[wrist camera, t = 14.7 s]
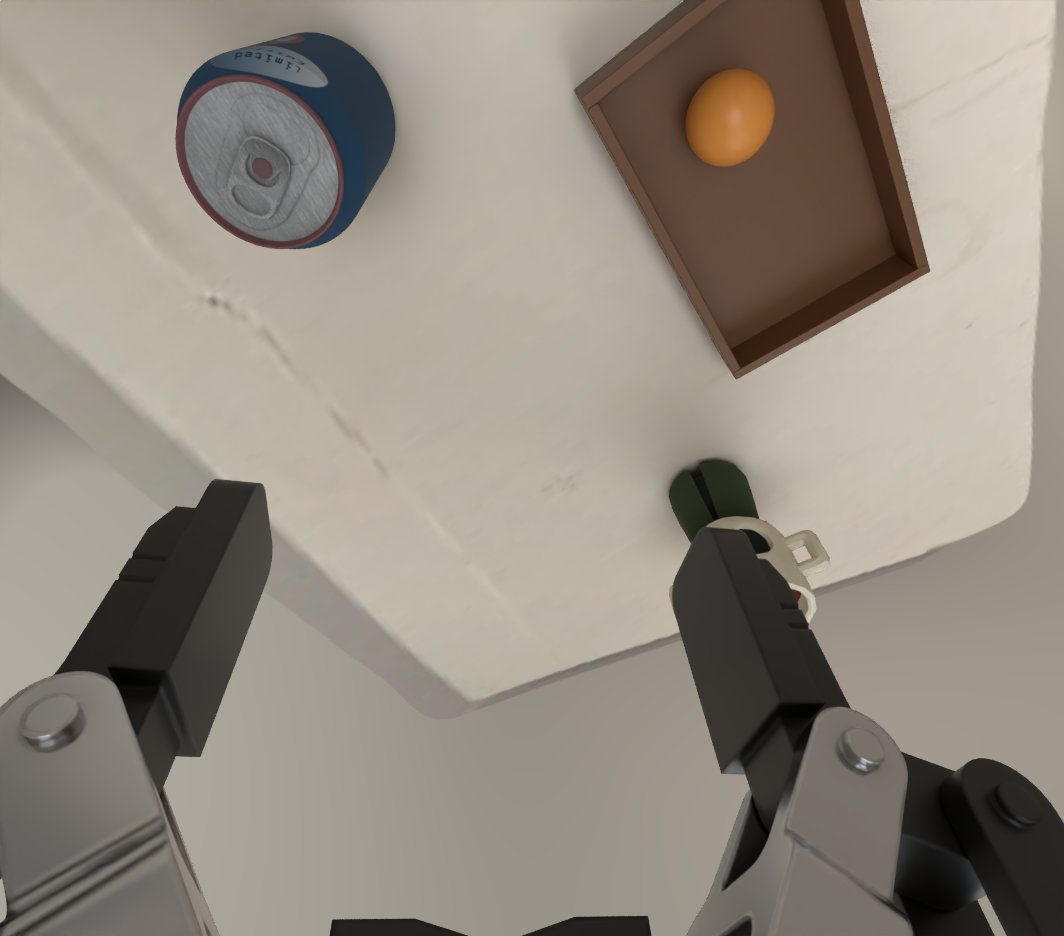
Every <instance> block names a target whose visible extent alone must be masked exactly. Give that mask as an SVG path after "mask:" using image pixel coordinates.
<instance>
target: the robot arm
mask: <svg viewBox="0 0 1064 936" xmlns="http://www.w3.org/2000/svg"><path fill="white" fill-rule="evenodd" d="M271 561H272V538H271V530H270V523H269V515H268V508H267V500H266V493H265V489H264V486H263V485H262V484H261V483H252V482H241V481H231V480H220V479H215V480H213V481H212V482H211V483H210V484H209V486H208V487H207V489H206V491H205V493H204V494H203V496H202V498H201V500H200V502H199V503H198V505H197V507H196V508H189V507H177V506H176V507H175V508H174V509H172V510H171V511H170V512H168V513H167V514H166V515H164V516H163V517H162V518H161V519H159V520H158V521H157V522H155V523H154V524H153V525H151V526H150V527H149V528H148V529H147V531H146V533H145V534H144V536H143V537H142V539H141V541H140V542H139V544H138V546H137V547H136V549H135V550H134V552H133V556H132V558H131V559H130V558H129V560H128V561H127V563H126V564H125V566H124V568H123V569H122V571H121V572H120V574H119V579H118V580H115V582H114V583H113V585H112V587H111V588H110V590H109V591H108V593H107V594H106V596H105V598H104V599H103V601H102V602H101V604H100V606H99V607H98V609H97V610H96V612H95V613H94V615H93V617H92V618H91V620H90V621H89V623H88V625H87V626H86V628H85V629H84V631H83V632H82V634H81V636H80V637H79V639H78V640H77V642H76V644H75V645H74V647H73V648H72V650H71V651H70V653H69V655H68V656H67V658H66V659H65V661H64V662H63V664H62V665H61V667H60V668H59V669H58V671H57V672H56V673H55V674H54V675H53V676H50V677H48V678H45V679H42V680H40V681H38V682H35V683H33V684H31V685H29V686H28V687H26V688H25V689H23V690H21V691H19V692H18V693H17V694H15V695H14V696H13V697H11V698H10V699H9V700H8V701H7V702H6V703H5V704H4V705H2V706H1V707H0V879H1V878H2V879H3V884H4V889H5V895H6V902H7V915H6V918H5V920H4V921H2V922H1V923H0V936H220V935H219V932H218V930H217V927H216V925H215V922H214V920H213V918H212V915H211V913H210V910H209V908H208V905H207V903H206V900H205V898H204V895H203V892H202V890H201V887H200V884H199V881H198V879H197V876H196V873H195V871H194V868H193V865H192V862H191V860H190V857H189V854H188V852H187V849H186V846H185V843H184V841H183V838H182V835H181V833H180V830H179V827H178V824H177V822H176V819H175V816H174V814H173V811H172V808H171V806H170V803H169V800H168V798H167V795H166V792H165V789H164V787H163V786H164V784H165V781H166V779H167V777H168V774H169V772H170V769H171V767H172V764H173V762H174V759H175V757H176V756H185V757H186V756H187V757H200V756H201V754H202V751H203V748H204V746H205V743H206V740H207V738H208V735H209V732H210V730H211V727H212V724H213V722H214V719H215V717H216V714H217V711H218V709H219V706H220V703H221V700H222V698H223V695H224V693H225V690H226V688H227V684H228V682H229V680H230V677H231V674H232V671H233V669H234V666H235V664H236V661H237V658H238V656H239V653H240V650H241V648H242V645H243V642H244V640H245V637H246V634H247V632H248V629H249V627H250V624H251V621H252V619H253V616H254V613H255V611H256V608H257V605H258V602H259V600H260V597H261V595H262V592H263V589H264V587H265V584H266V581H267V579H268V575H269V572H270V567H271ZM672 603H673V609H674V613H675V616H676V620H677V623H678V626H679V630H680V633H681V637H682V640H683V643H684V646H685V650H686V654H687V657H688V661H689V664H690V667H691V671H692V674H693V678H694V681H695V685H696V688H697V691H698V695H699V698H700V702H701V705H702V709H703V712H704V715H705V719H706V722H707V726H708V729H709V733H710V736H711V739H712V743H713V746H714V749H715V753H716V757H717V760H718V763H719V767H720V770H721V773H722V774H746V777H747V780H748V784H749V786H750V790H749V791H748V792H747V793H746V795H745V797H744V799H743V802H742V804H741V807H740V810H739V813H738V816H737V818H736V821H735V824H734V827H733V830H732V832H731V835H730V838H729V841H728V844H727V847H726V849H725V852H724V854H723V857H722V860H721V863H720V866H719V868H718V871H717V874H716V877H715V879H714V882H713V885H712V888H711V890H710V893H709V895H708V897H707V899H706V901H705V903H704V905H703V907H702V908H701V910H700V912H699V913H698V915H697V916H696V918H695V920H694V921H693V923H692V925H691V927H690V929H689V931H688V933H687V935H686V936H994V934H993V932H992V929H991V927H990V926H989V923H988V921H987V919H986V917H985V915H984V913H983V911H982V909H981V907H980V905H979V903H978V901H977V900H978V899H980V898H982V897H984V896H986V895H987V897H988V899H989V901H990V903H991V905H992V907H993V909H994V911H995V913H996V915H997V917H998V919H999V921H1000V923H1001V925H1002V927H1003V929H1004V931H1005V933H1006V935H1007V936H1064V823H1063V822H1062V820H1061V818H1060V817H1059V815H1058V814H1057V812H1056V810H1055V809H1054V808H1053V806H1052V805H1051V803H1050V802H1049V801H1048V799H1047V798H1046V797H1045V796H1044V795H1043V794H1042V792H1041V791H1040V790H1039V789H1038V788H1037V787H1036V786H1035V785H1033V784H1032V783H1031V782H1030V781H1029V780H1028V779H1026V778H1025V777H1024V776H1023V775H1021V774H1020V773H1018V772H1017V771H1015V770H1013V769H1012V768H1010V767H1009V766H1006V765H1004V764H1002V763H1000V762H997V761H994V760H990V759H983V758H978V759H974V760H971V761H969V762H968V763H966V764H965V765H964V766H963V767H961V768H960V769H958V770H957V771H956V772H955V771H952V770H950V769H947V768H944V767H941V766H939V765H936V764H933V763H930V762H928V761H925V760H922V759H919V758H916V757H914V756H911V755H908V754H905V753H903V752H901V751H900V749H899V748H898V746H897V745H896V743H895V741H894V740H893V739H892V738H891V737H890V735H889V734H888V733H887V732H886V731H885V730H884V729H883V728H882V727H881V726H880V725H878V724H877V723H876V722H875V721H873V720H872V719H870V718H869V717H867V716H866V715H864V714H862V713H860V712H857V711H855V710H852V709H851V708H850V706H849V704H848V702H847V701H846V699H845V697H844V695H843V692H842V691H841V689H840V687H839V685H838V682H837V680H836V679H835V676H834V675H833V672H832V670H831V668H830V666H829V664H828V662H827V660H826V659H825V656H824V654H823V652H822V650H821V648H820V646H819V644H818V642H817V640H816V638H815V636H814V634H813V632H812V630H809V629H808V625H809V624H808V622H807V620H806V618H805V616H804V614H803V612H802V610H799V604H798V602H797V600H796V598H795V596H794V594H793V592H792V590H791V588H790V586H789V584H788V582H787V580H786V579H785V578H784V577H783V576H782V575H781V574H780V573H779V572H778V571H777V570H776V568H775V567H774V566H773V565H772V564H771V563H770V562H769V561H768V560H767V559H759V558H758V557H757V555H756V553H755V551H754V548H753V546H752V544H751V542H750V540H749V538H748V536H747V534H746V533H745V532H744V531H742V530H736V529H725V528H715V527H702V528H701V529H700V530H699V531H698V532H697V534H696V536H695V538H694V540H693V542H692V544H691V546H690V548H689V550H688V552H687V554H686V556H685V559H684V561H683V563H682V565H681V567H680V569H679V571H678V573H677V575H676V577H675V580H674V583H673V589H672ZM330 936H467V935H464V934H461V933H458V932H455V931H452V930H449V929H446V928H442V927H439V926H436V925H433V924H430V923H426V922H424V921H420V920H417V919H345V920H343V919H342V920H341V919H340V920H332V925H331V931H330ZM523 936H651V931H650V925H649V919H648V916H615V917H614V916H609V917H608V916H606V917H573V918H571V919H568V920H565V921H562V922H559V923H556V924H554V925H551V926H548V927H545V928H542V929H540V930H537V931H534V932H531V933H528V934H526V935H523Z"/></svg>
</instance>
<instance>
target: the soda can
mask: <svg viewBox="0 0 1064 936" xmlns="http://www.w3.org/2000/svg"><path fill="white" fill-rule="evenodd" d="M394 140H395V117H394V111H393V107H392V103H391V100H390V97H389V94H388V92H387V89H386V87H385V85H384V83H383V82H382V80H381V78H380V76H379V75H378V73H377V72H376V71H375V69H374V68H373V67H372V65H371V64H370V63H369V62H368V61H367V60H366V59H365V58H364V57H363V56H362V55H361V54H360V53H359V52H358V51H356V50H355V49H354V48H352V47H351V46H349V45H348V44H346V43H344V42H343V41H340V40H338V39H336V38H334V37H331V36H328V35H324V34H319V33H298V34H293V35H289V36H286V37H282V38H278V39H274V40H271V41H267V42H263V43H259V44H255V45H252V46H248V47H244V48H240V49H237V50H233V51H229V52H226V53H223V54H220V55H218V56H215V57H214V58H212V59H210V60H208V61H207V62H206V63H204V64H203V65H202V66H201V67H199V68H198V69H197V70H196V71H195V73H194V74H193V75H192V76H191V78H190V79H189V81H188V82H187V84H186V86H185V88H184V91H183V93H182V96H181V99H180V103H179V107H178V115H177V128H176V152H177V157H178V162H179V166H180V169H181V172H182V175H183V177H184V179H185V182H186V184H187V186H188V188H189V189H190V191H191V193H192V194H193V196H194V198H195V199H196V200H197V202H198V203H199V205H200V206H201V207H202V208H203V209H204V211H205V212H206V213H207V214H208V215H209V216H210V217H211V218H212V219H213V220H214V221H215V222H217V223H218V224H219V225H220V226H221V227H223V228H224V229H225V230H227V231H228V232H230V233H231V234H233V235H235V236H236V237H238V238H240V239H242V240H245V241H247V242H249V243H252V244H255V245H258V246H262V247H267V248H275V249H305V248H311V247H315V246H319V245H322V244H324V243H327V242H329V241H331V240H332V239H334V238H336V237H337V236H339V235H340V234H341V233H342V232H343V231H345V230H346V228H347V227H348V226H349V225H350V224H351V223H352V221H353V220H354V218H355V217H356V215H357V214H358V212H359V210H360V209H361V207H362V205H363V203H364V202H365V200H366V198H367V197H368V195H369V193H370V192H371V190H372V188H373V187H374V185H375V183H376V181H377V180H378V178H379V176H380V175H381V173H382V171H383V170H384V168H385V166H386V164H387V163H388V161H389V158H390V156H391V153H392V150H393V146H394Z"/></svg>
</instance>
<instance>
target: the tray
mask: <svg viewBox="0 0 1064 936" xmlns="http://www.w3.org/2000/svg"><path fill="white" fill-rule="evenodd" d="M735 68H740V69H747V70H750V71H752V72H754V73H756V74H758V75H759V76H760V77H762V78H763V79H764V81H765V82H766V83H767V85H768V86H769V88H770V90H771V92H772V95H773V98H774V104H775V115H774V122H773V125H772V129H771V131H770V134H769V136H768V137H767V139H766V141H765V142H764V144H763V145H762V147H761V148H760V149H759V150H758V151H757V152H756V153H755V154H754V155H753V156H751V157H750V158H749V159H747V160H745V161H743V162H741V163H739V164H736V165H733V166H726V167H720V166H714V165H710V164H708V163H706V162H704V161H703V160H701V159H700V158H699V157H698V156H697V155H696V154H695V153H694V151H693V150H692V148H691V147H690V145H689V142H688V139H687V135H686V115H687V111H688V108H689V105H690V102H691V100H692V98H693V96H694V95H695V93H696V92H697V90H698V89H699V88H700V87H701V85H702V84H703V83H704V82H705V81H707V80H708V79H709V78H710V77H712V76H713V75H715V74H717V73H719V72H722V71H725V70H728V69H735ZM574 91H575V93H576V95H577V97H578V98H579V100H580V102H581V104H582V106H583V107H584V109H585V111H586V113H587V115H588V116H589V118H590V120H591V122H592V124H593V125H594V127H595V129H596V131H597V133H598V134H599V136H600V138H601V140H602V142H603V143H604V145H605V147H606V149H607V151H608V152H609V154H610V156H611V158H612V160H613V162H614V163H615V165H616V167H617V169H618V171H619V172H620V174H621V176H622V178H623V180H624V181H625V183H626V185H627V187H628V189H629V190H630V192H631V194H632V196H633V198H634V199H635V201H636V203H637V205H638V207H639V208H640V210H641V212H642V214H643V216H644V217H645V219H646V221H647V223H648V225H649V226H650V228H651V230H652V232H653V234H654V236H655V237H656V239H657V241H658V243H659V245H660V246H661V248H662V250H663V252H664V254H665V255H666V257H667V259H668V261H669V263H670V264H671V266H672V268H673V270H674V272H675V273H676V275H677V277H678V279H679V281H680V282H681V284H682V286H683V288H684V290H685V291H686V293H687V295H688V297H689V299H690V300H691V302H692V304H693V306H694V308H695V310H696V311H697V313H698V315H699V317H700V319H701V320H702V322H703V324H704V326H705V328H706V329H707V331H708V333H709V335H710V337H711V338H712V340H713V342H714V344H715V346H716V347H717V349H718V351H719V353H720V355H721V356H722V358H723V360H724V361H725V363H726V365H727V366H728V368H729V369H730V371H731V373H732V374H733V376H734V377H735V379H738V378H740V377H742V376H743V375H745V374H747V373H749V372H751V371H752V370H754V369H756V368H758V367H760V366H761V365H763V364H765V363H767V362H768V361H770V360H772V359H774V358H776V357H777V356H779V355H781V354H783V353H785V352H786V351H788V350H790V349H792V348H794V347H795V346H797V345H799V344H801V343H803V342H804V341H806V340H808V339H810V338H811V337H813V336H815V335H817V334H819V333H820V332H822V331H824V330H826V329H828V328H829V327H831V326H833V325H835V324H837V323H838V322H840V321H842V320H844V319H846V318H847V317H849V316H851V315H853V314H855V313H856V312H858V311H860V310H862V309H863V308H865V307H867V306H869V305H871V304H872V303H874V302H876V301H878V300H880V299H881V298H883V297H885V296H887V295H889V294H890V293H892V292H894V291H896V290H898V289H899V288H901V287H903V286H905V285H906V284H908V283H910V282H912V281H914V280H915V279H917V278H919V277H921V276H923V275H924V274H926V273H928V272H930V268H929V265H928V261H927V257H926V253H925V249H924V246H923V242H922V238H921V234H920V230H919V226H918V223H917V219H916V215H915V211H914V207H913V203H912V200H911V196H910V192H909V188H908V184H907V181H906V177H905V173H904V169H903V165H902V161H901V158H900V154H899V150H898V146H897V142H896V138H895V135H894V131H893V127H892V123H891V119H890V116H889V112H888V108H887V104H886V100H885V96H884V93H883V89H882V85H881V81H880V77H879V74H878V70H877V66H876V62H875V58H874V54H873V51H872V47H871V43H870V39H869V35H868V31H867V28H866V24H865V20H864V16H863V12H862V9H861V5H860V1H859V0H685V1H683V2H682V3H681V4H680V5H678V6H677V7H676V8H675V9H673V10H672V11H671V12H670V13H668V14H667V15H666V16H665V17H664V18H662V19H661V20H660V21H659V22H657V23H656V24H655V25H654V26H652V27H651V28H650V29H649V30H647V31H646V32H645V33H644V34H642V35H641V36H640V37H639V38H637V39H636V40H635V41H634V42H633V43H631V44H630V45H629V46H628V47H626V48H625V49H624V50H623V51H621V52H620V53H619V54H618V55H616V56H615V57H614V58H613V59H611V60H610V61H609V62H608V63H606V64H605V65H604V66H603V67H602V68H600V69H599V70H598V71H597V72H595V73H594V74H593V75H592V76H590V77H589V78H588V79H587V80H585V81H584V82H583V83H582V84H580V85H579V86H578V87H577V88H575V90H574Z"/></svg>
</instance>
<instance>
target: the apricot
mask: <svg viewBox="0 0 1064 936" xmlns="http://www.w3.org/2000/svg"><path fill="white" fill-rule="evenodd" d="M774 115H775V104H774V98H773V95H772V92H771V90H770V88H769V86H768V85H767V83H766V82H765V81H764V79H763V78H762V77H760V76H759V75H758V74H756V73H754V72H752V71H750V70H747V69H740V68H735V69H728V70H725V71H722V72H719V73H717V74H715V75H713V76H712V77H710V78H709V79H708V80H707V81H705V82H704V83H703V84H702V85H701V87H700V88H699V89H698V90H697V92H696V93H695V95H694V96H693V98H692V100H691V102H690V105H689V108H688V111H687V115H686V135H687V139H688V142H689V145H690V147H691V148H692V150H693V151H694V153H695V154H696V155H697V156H698V157H699V158H700V159H701V160H703V161H704V162H706V163H708V164H710V165H714V166H720V167H726V166H733V165H736V164H739V163H741V162H743V161H745V160H747V159H749V158H750V157H751V156H753V155H754V154H755V153H756V152H757V151H758V150H759V149H760V148H761V147H762V145H763V144H764V142H765V141H766V139H767V137H768V136H769V134H770V131H771V129H772V125H773V122H774Z"/></svg>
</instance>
